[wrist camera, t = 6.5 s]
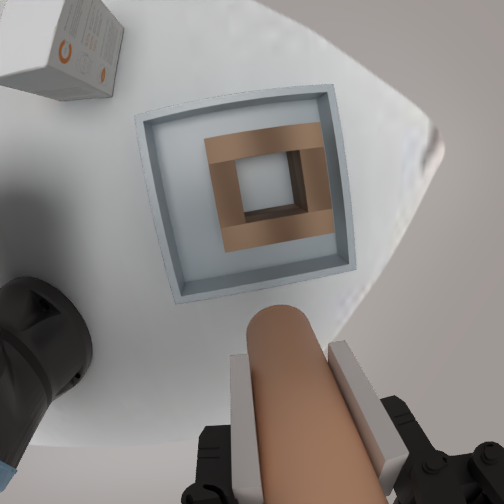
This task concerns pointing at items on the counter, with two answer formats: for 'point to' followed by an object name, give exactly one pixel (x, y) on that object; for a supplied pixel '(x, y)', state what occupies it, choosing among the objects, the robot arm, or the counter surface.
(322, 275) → the tray
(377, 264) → the counter surface
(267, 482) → the peg
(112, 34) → the small box
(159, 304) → the counter surface
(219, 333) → the counter surface
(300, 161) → the block
